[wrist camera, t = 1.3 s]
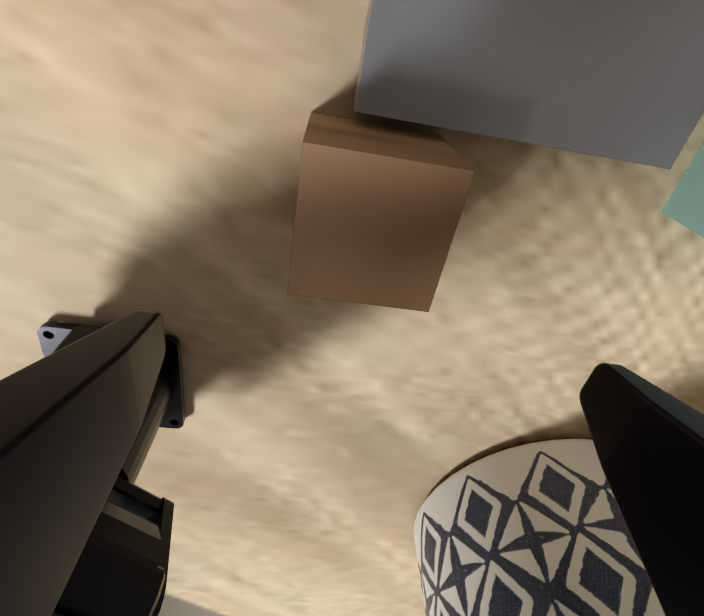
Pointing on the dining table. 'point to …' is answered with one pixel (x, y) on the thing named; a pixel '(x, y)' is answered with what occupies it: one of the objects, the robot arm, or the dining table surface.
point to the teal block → (689, 196)
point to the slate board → (541, 71)
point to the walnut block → (374, 213)
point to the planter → (530, 539)
